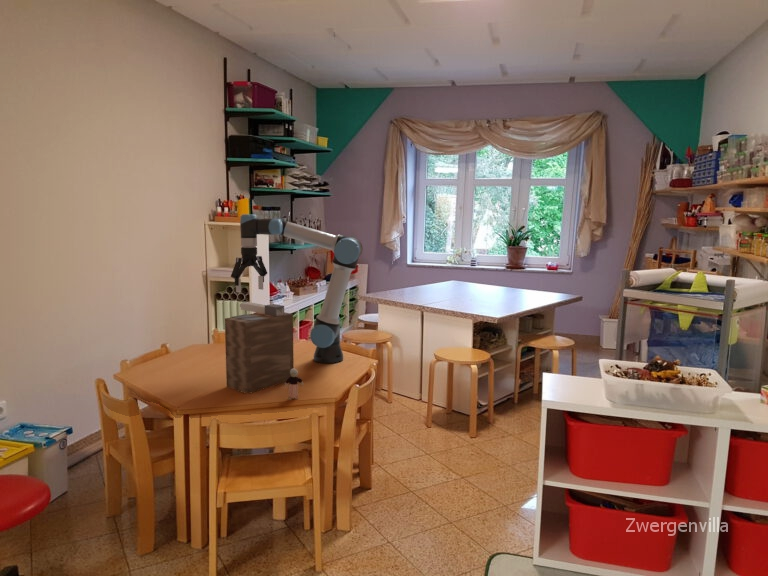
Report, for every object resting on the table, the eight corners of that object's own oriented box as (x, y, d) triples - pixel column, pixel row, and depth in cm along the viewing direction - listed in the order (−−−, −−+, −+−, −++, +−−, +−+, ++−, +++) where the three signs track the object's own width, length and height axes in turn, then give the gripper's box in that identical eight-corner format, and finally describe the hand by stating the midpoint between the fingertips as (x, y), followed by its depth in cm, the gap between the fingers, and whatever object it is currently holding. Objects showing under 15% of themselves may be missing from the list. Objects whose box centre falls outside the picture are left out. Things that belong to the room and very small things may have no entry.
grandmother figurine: (286, 401, 223) (285, 370, 221) (283, 398, 227) (283, 368, 225) (304, 398, 226) (304, 368, 224) (302, 396, 230) (301, 366, 228)
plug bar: (237, 309, 256) (237, 300, 256) (245, 307, 260) (245, 299, 260) (275, 316, 241) (275, 307, 240) (284, 314, 245) (284, 305, 244)
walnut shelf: (226, 386, 240) (224, 318, 236) (272, 373, 260) (271, 309, 256) (247, 393, 232) (246, 322, 227) (293, 379, 252) (293, 313, 248)
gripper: (264, 245, 278) (264, 287, 281) (222, 247, 259) (223, 292, 262) (274, 246, 274) (274, 288, 277) (232, 248, 254) (233, 294, 257)
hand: (249, 290), depth 269 cm, fingers open, 13 cm apart
